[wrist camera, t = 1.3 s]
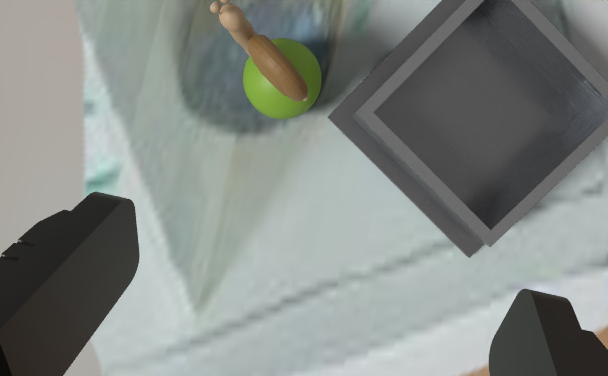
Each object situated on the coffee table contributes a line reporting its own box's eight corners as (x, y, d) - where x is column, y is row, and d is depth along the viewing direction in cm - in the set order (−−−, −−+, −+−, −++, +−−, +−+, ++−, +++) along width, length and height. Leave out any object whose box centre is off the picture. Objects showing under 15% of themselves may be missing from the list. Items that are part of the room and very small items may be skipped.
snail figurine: (275, 23, 34) (253, -46, 22) (336, 84, 34) (347, 50, 22) (225, 75, 34) (176, 37, 22) (285, 136, 35) (269, 130, 23)
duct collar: (327, 117, 34) (329, 112, 30) (472, -31, 33) (499, -61, 28) (465, 255, 35) (489, 272, 30) (612, 115, 34) (661, 109, 29)
